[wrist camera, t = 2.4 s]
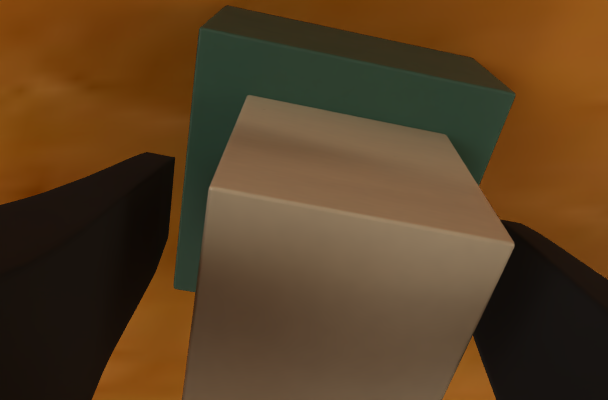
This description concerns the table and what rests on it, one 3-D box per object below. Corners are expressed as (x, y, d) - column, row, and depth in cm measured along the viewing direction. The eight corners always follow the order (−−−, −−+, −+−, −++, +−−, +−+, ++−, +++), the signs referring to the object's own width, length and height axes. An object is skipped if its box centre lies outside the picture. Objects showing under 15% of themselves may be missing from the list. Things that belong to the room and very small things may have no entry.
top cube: (391, 291, 14) (422, 443, 10) (221, 261, 13) (181, 406, 9) (447, 134, 12) (517, 244, 8) (247, 93, 11) (208, 186, 7)
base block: (401, 260, 17) (420, 331, 14) (198, 223, 17) (172, 289, 14) (474, 58, 14) (517, 93, 11) (225, 4, 14) (198, 26, 11)
